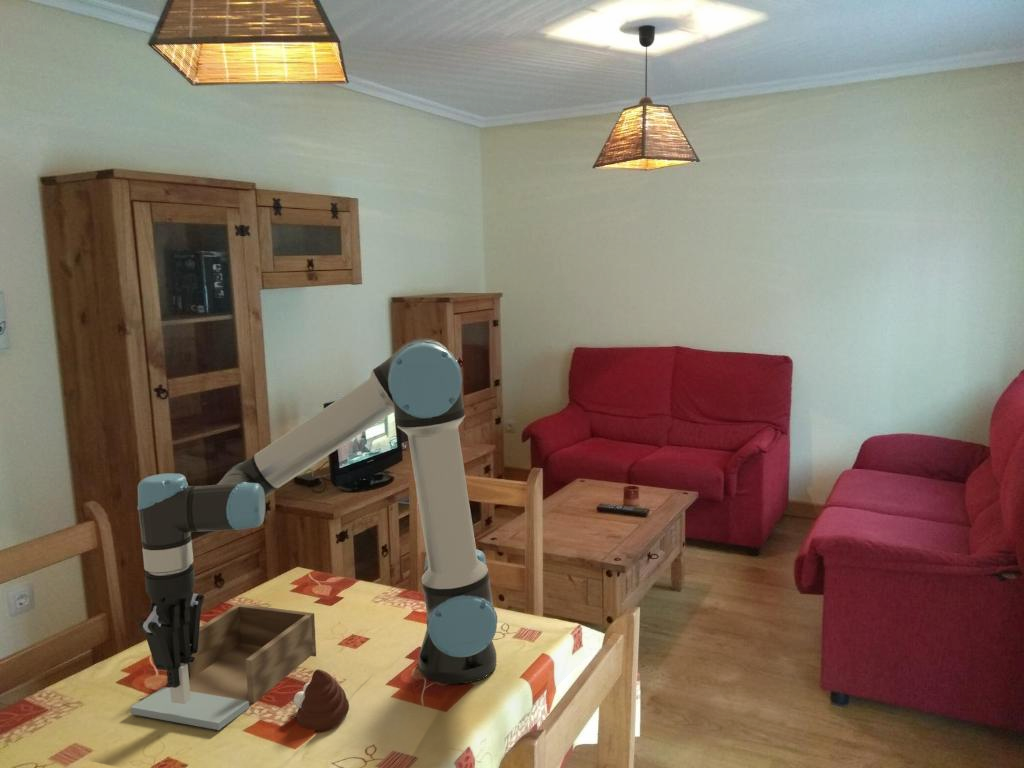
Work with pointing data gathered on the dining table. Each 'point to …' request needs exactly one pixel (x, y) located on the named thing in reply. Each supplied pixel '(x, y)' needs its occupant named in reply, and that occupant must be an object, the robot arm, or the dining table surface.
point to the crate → (250, 651)
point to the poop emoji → (321, 703)
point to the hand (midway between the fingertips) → (181, 700)
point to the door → (191, 709)
